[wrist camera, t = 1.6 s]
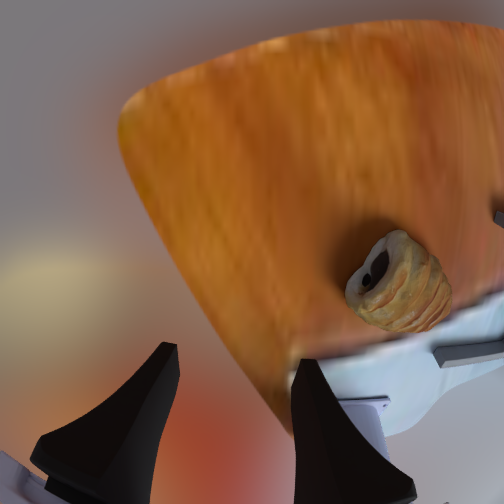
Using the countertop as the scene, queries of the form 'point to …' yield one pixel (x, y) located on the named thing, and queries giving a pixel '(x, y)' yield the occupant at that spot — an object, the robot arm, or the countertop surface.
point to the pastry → (400, 286)
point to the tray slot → (473, 352)
